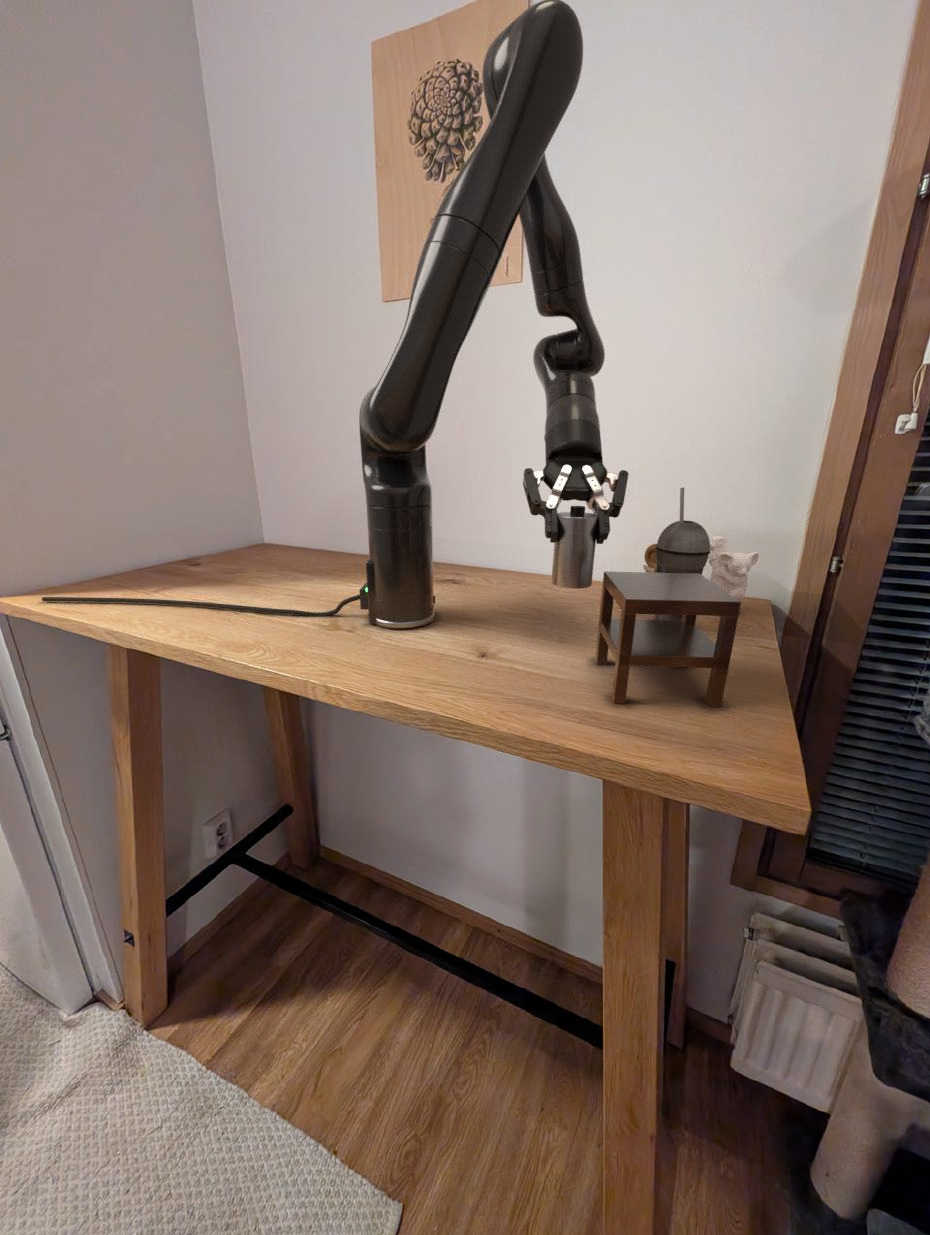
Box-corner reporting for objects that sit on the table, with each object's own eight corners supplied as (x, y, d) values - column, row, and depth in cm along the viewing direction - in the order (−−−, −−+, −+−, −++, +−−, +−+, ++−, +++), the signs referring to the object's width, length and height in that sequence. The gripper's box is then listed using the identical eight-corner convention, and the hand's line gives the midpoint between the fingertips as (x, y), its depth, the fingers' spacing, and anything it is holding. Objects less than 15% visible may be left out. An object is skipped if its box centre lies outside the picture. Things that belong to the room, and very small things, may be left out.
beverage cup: (702, 637, 72) (727, 491, 66) (648, 632, 74) (667, 489, 67) (691, 620, 79) (713, 486, 73) (642, 616, 81) (659, 484, 74)
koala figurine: (689, 613, 82) (701, 538, 78) (690, 601, 88) (701, 531, 84) (749, 620, 79) (765, 543, 75) (745, 608, 85) (760, 535, 81)
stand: (613, 703, 54) (625, 599, 50) (595, 660, 64) (603, 571, 61) (721, 707, 54) (741, 601, 50) (684, 663, 64) (699, 573, 60)
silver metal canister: (553, 588, 66) (559, 508, 62) (549, 577, 71) (554, 503, 67) (594, 589, 66) (602, 509, 62) (587, 578, 70) (595, 504, 67)
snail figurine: (658, 615, 81) (669, 539, 77) (626, 604, 86) (635, 533, 82) (680, 609, 84) (692, 536, 80) (648, 599, 89) (657, 530, 85)
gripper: (522, 415, 69) (522, 520, 61) (631, 417, 68) (644, 523, 61) (518, 456, 75) (518, 554, 68) (618, 458, 75) (628, 557, 67)
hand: (577, 539), depth 64 cm, fingers closed on silver metal canister, 5 cm apart
